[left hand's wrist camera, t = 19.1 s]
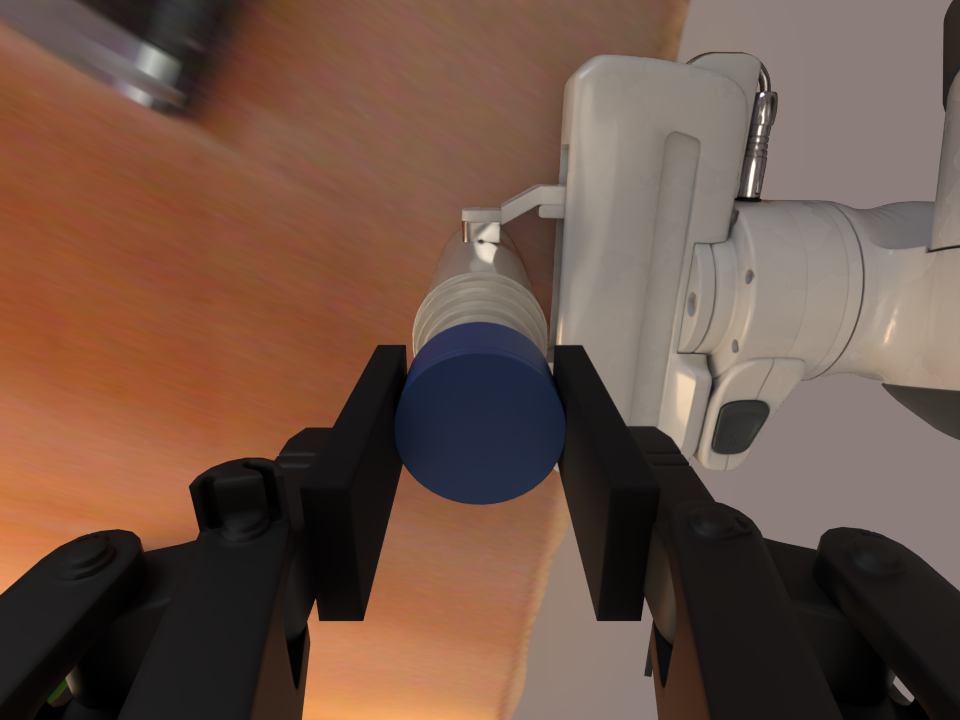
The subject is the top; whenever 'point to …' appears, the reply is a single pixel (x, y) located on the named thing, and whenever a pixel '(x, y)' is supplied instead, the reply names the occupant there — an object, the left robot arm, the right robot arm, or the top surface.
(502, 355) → the cap
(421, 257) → the top surface
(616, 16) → the top surface
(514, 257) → the bottle
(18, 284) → the top surface
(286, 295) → the top surface
